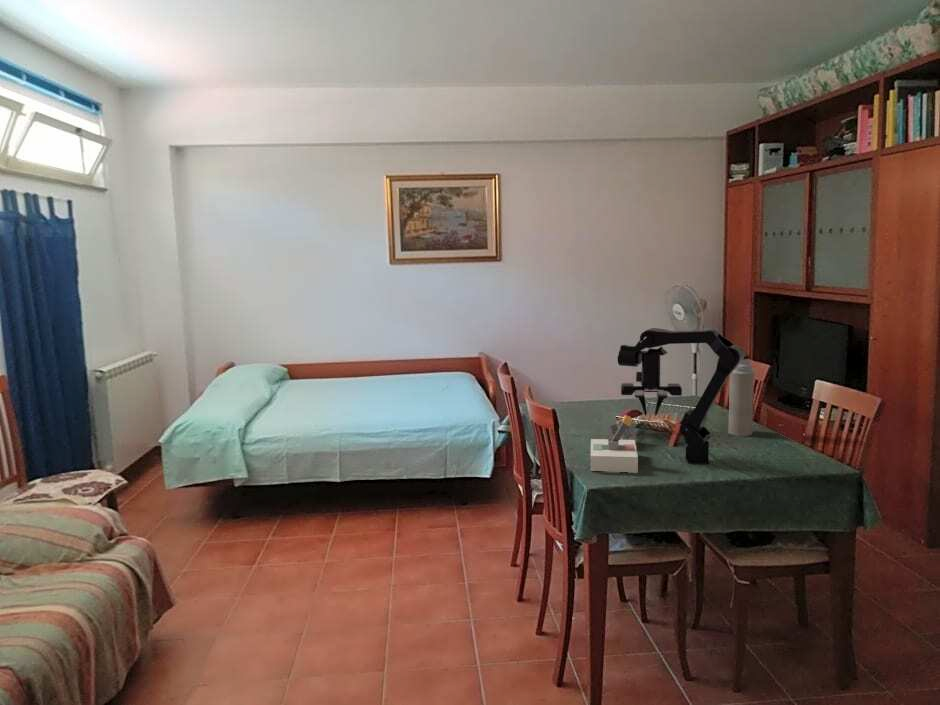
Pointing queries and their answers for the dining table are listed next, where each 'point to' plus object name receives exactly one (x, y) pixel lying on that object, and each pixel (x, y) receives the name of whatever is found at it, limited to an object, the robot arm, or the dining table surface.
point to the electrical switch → (628, 433)
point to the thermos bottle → (741, 399)
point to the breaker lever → (622, 428)
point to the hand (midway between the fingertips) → (650, 415)
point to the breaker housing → (614, 455)
